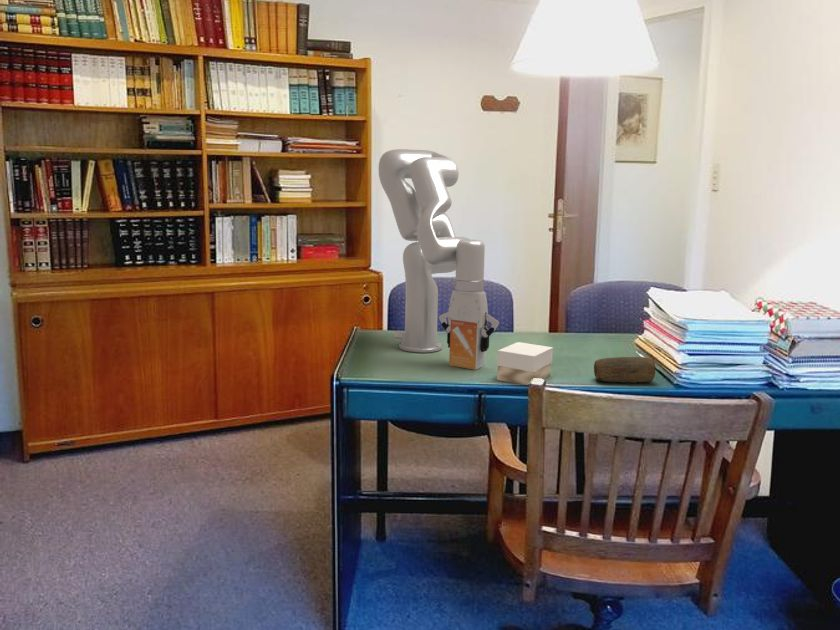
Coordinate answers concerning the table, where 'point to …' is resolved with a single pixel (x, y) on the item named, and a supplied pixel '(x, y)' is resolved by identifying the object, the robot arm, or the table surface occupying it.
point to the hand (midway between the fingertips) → (467, 348)
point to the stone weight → (625, 369)
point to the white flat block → (525, 356)
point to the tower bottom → (522, 374)
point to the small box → (465, 345)
